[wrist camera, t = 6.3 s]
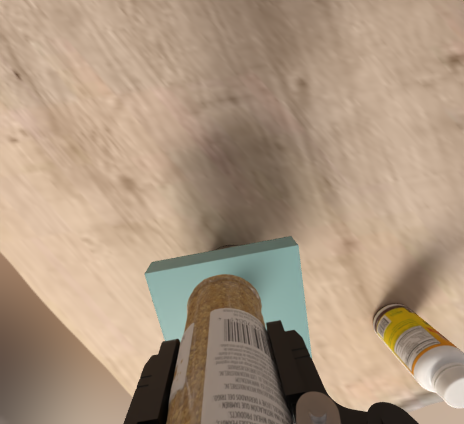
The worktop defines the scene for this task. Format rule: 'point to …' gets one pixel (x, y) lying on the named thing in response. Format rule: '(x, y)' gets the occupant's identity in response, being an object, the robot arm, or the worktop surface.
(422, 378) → the supplement bottle
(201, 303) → the sprinkles bottle
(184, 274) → the collar
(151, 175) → the worktop surface
